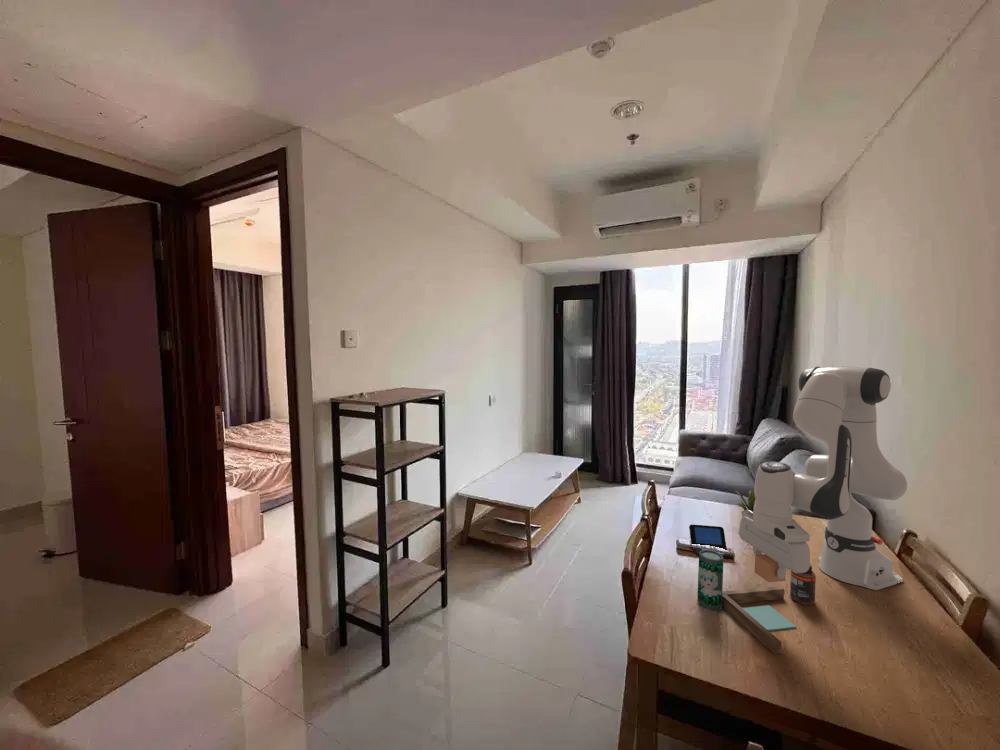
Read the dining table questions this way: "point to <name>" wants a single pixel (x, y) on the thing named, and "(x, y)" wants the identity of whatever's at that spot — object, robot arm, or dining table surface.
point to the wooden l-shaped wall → (747, 620)
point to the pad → (769, 618)
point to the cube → (767, 568)
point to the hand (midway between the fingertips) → (769, 570)
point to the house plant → (750, 503)
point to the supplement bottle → (803, 587)
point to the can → (710, 580)
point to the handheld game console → (708, 537)
